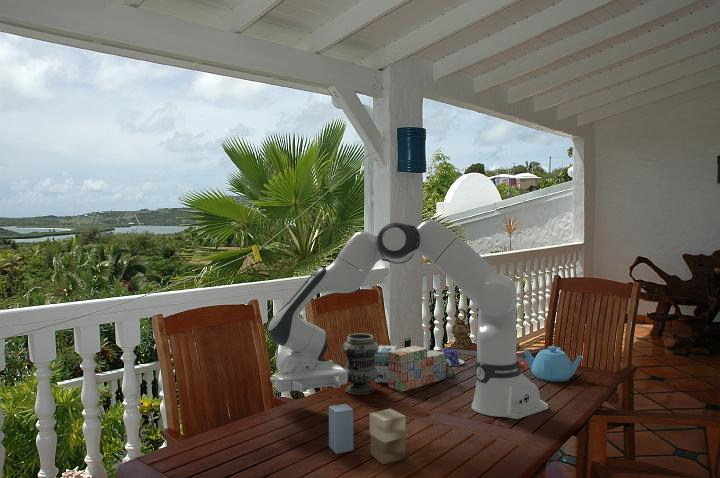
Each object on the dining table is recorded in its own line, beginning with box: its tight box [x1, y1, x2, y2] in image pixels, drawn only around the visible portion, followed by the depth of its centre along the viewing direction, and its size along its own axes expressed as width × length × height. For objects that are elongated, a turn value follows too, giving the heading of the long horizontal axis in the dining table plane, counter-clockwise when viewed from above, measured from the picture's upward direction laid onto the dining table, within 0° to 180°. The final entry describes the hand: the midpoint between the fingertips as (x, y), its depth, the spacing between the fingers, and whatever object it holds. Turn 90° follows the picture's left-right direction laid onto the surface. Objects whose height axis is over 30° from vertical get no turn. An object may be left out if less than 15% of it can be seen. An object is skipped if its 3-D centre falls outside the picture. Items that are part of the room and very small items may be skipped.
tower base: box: [370, 435, 406, 465], centre depth 130 cm, size 6×6×5 cm
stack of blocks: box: [388, 345, 447, 393], centre depth 188 cm, size 21×6×12 cm, turn 129°
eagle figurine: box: [445, 358, 456, 379], centre depth 199 cm, size 8×7×9 cm
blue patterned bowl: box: [440, 348, 465, 367], centre depth 216 cm, size 12×12×5 cm
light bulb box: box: [374, 344, 399, 384], centre depth 194 cm, size 11×7×11 cm, turn 168°
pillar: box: [328, 403, 354, 454], centre depth 134 cm, size 4×4×10 cm
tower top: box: [369, 408, 406, 443], centre depth 130 cm, size 6×6×5 cm
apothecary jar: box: [341, 332, 379, 396], centre depth 181 cm, size 12×12×18 cm
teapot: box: [523, 345, 583, 383], centre depth 195 cm, size 15×15×11 cm
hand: (321, 386), depth 145 cm, fingers open, 8 cm apart
